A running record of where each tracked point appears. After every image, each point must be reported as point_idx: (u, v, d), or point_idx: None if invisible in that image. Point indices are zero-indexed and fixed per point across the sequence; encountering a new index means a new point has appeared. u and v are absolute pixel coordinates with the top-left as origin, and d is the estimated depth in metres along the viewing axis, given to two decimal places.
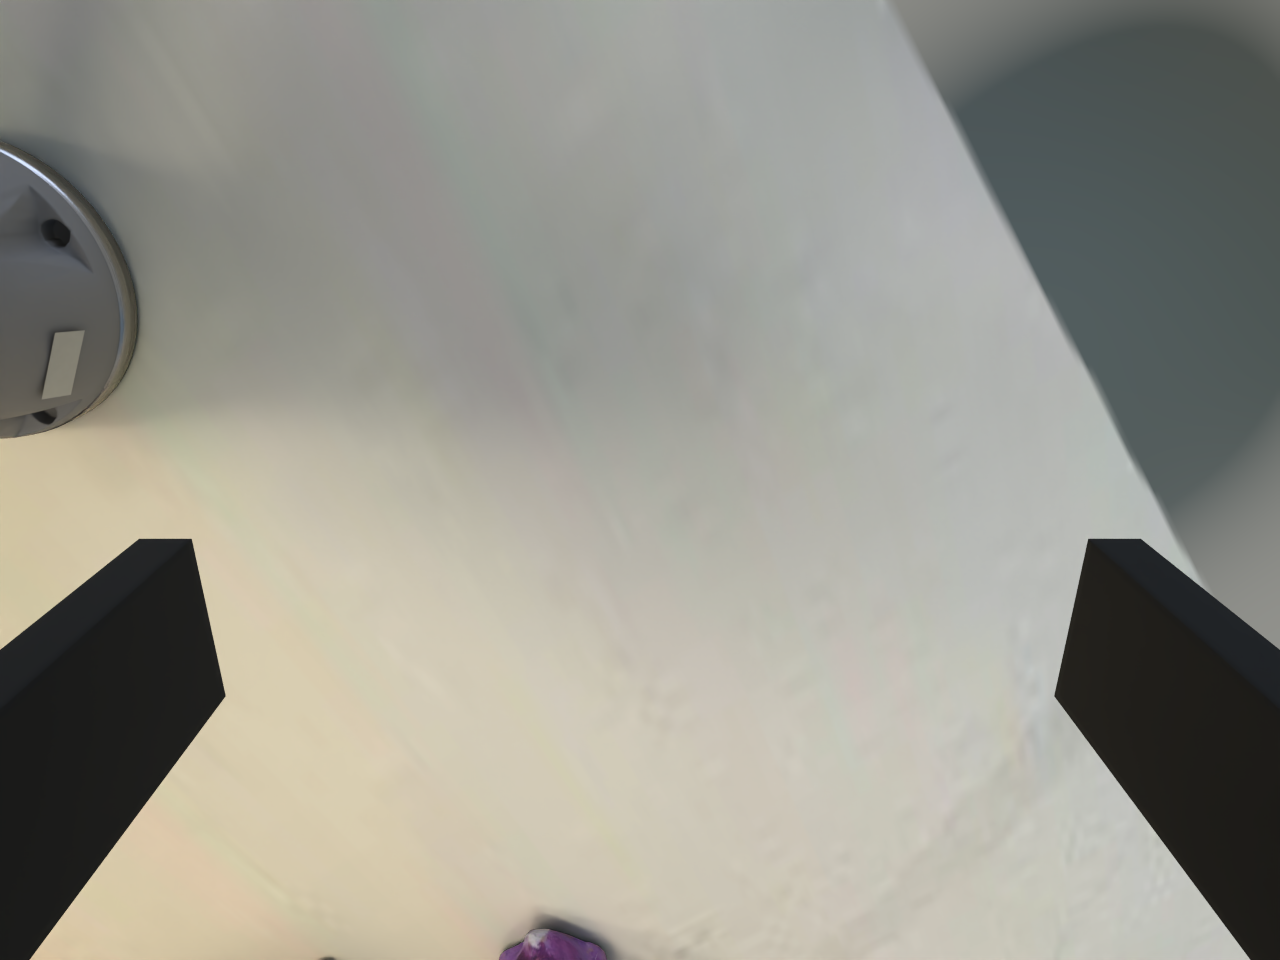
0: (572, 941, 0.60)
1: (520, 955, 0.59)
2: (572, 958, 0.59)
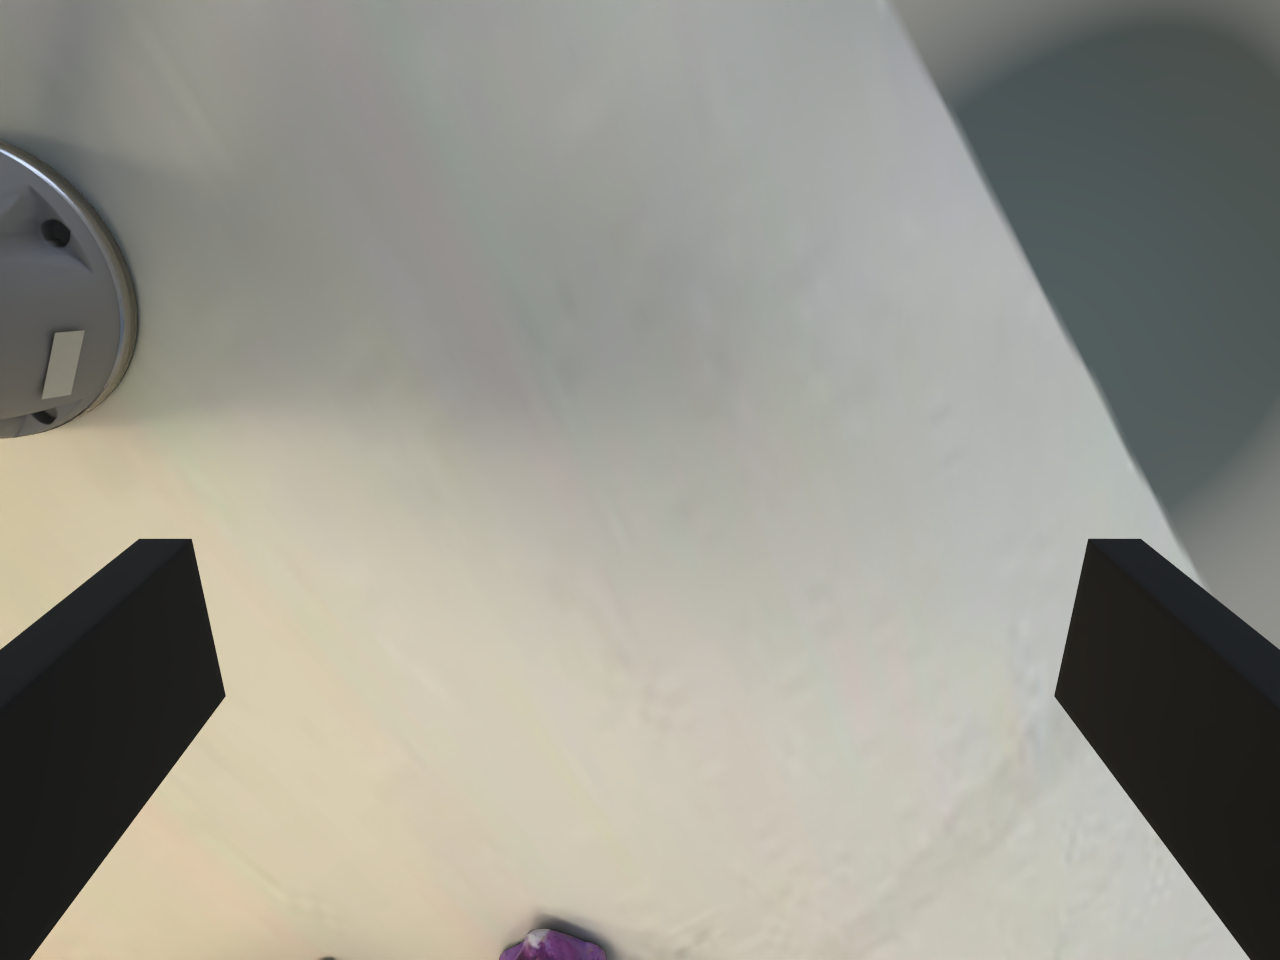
0: (572, 941, 0.60)
1: (520, 955, 0.59)
2: (572, 958, 0.59)
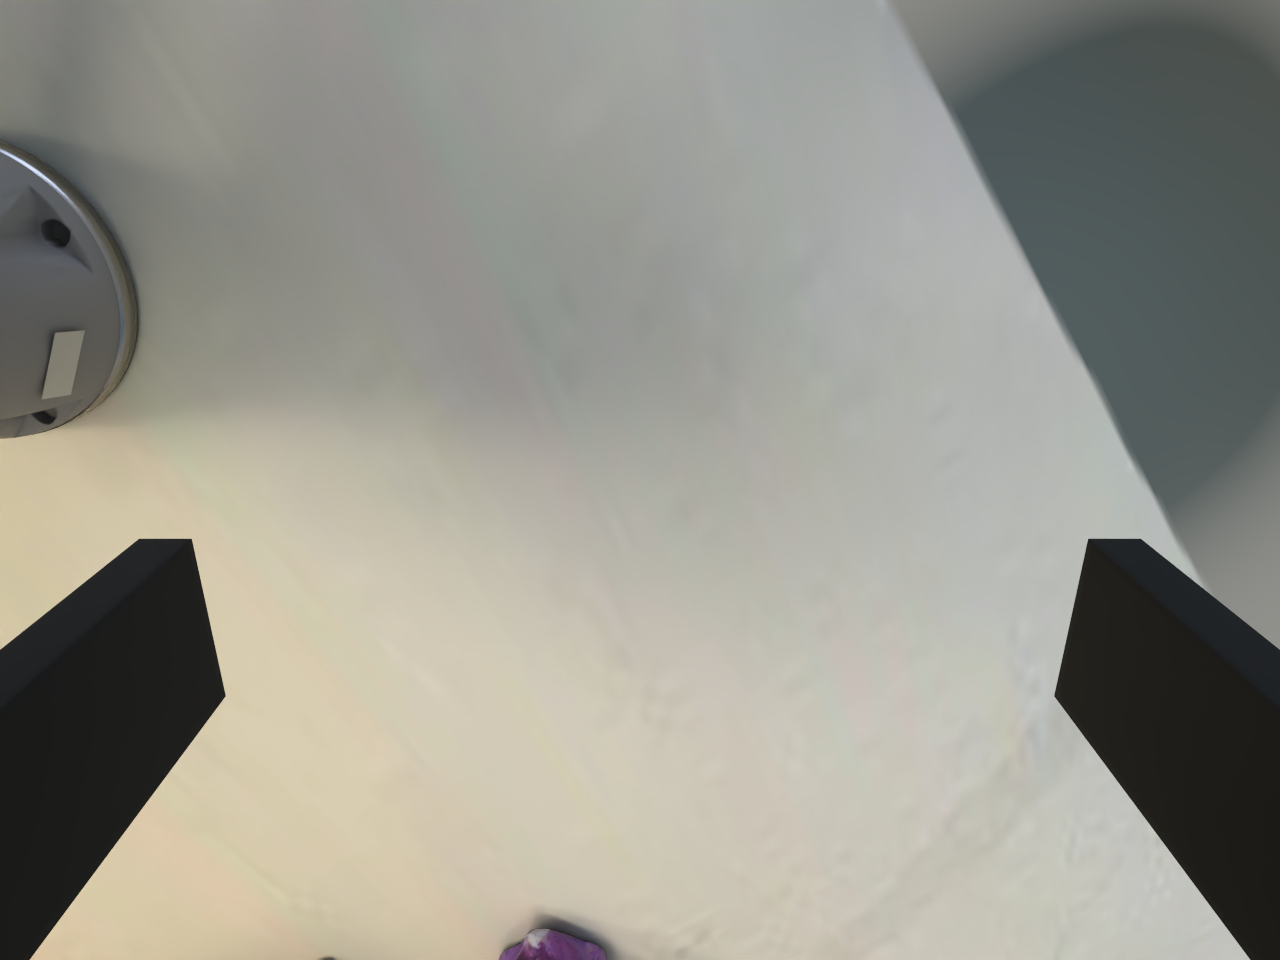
0: (572, 941, 0.60)
1: (520, 955, 0.59)
2: (572, 958, 0.59)
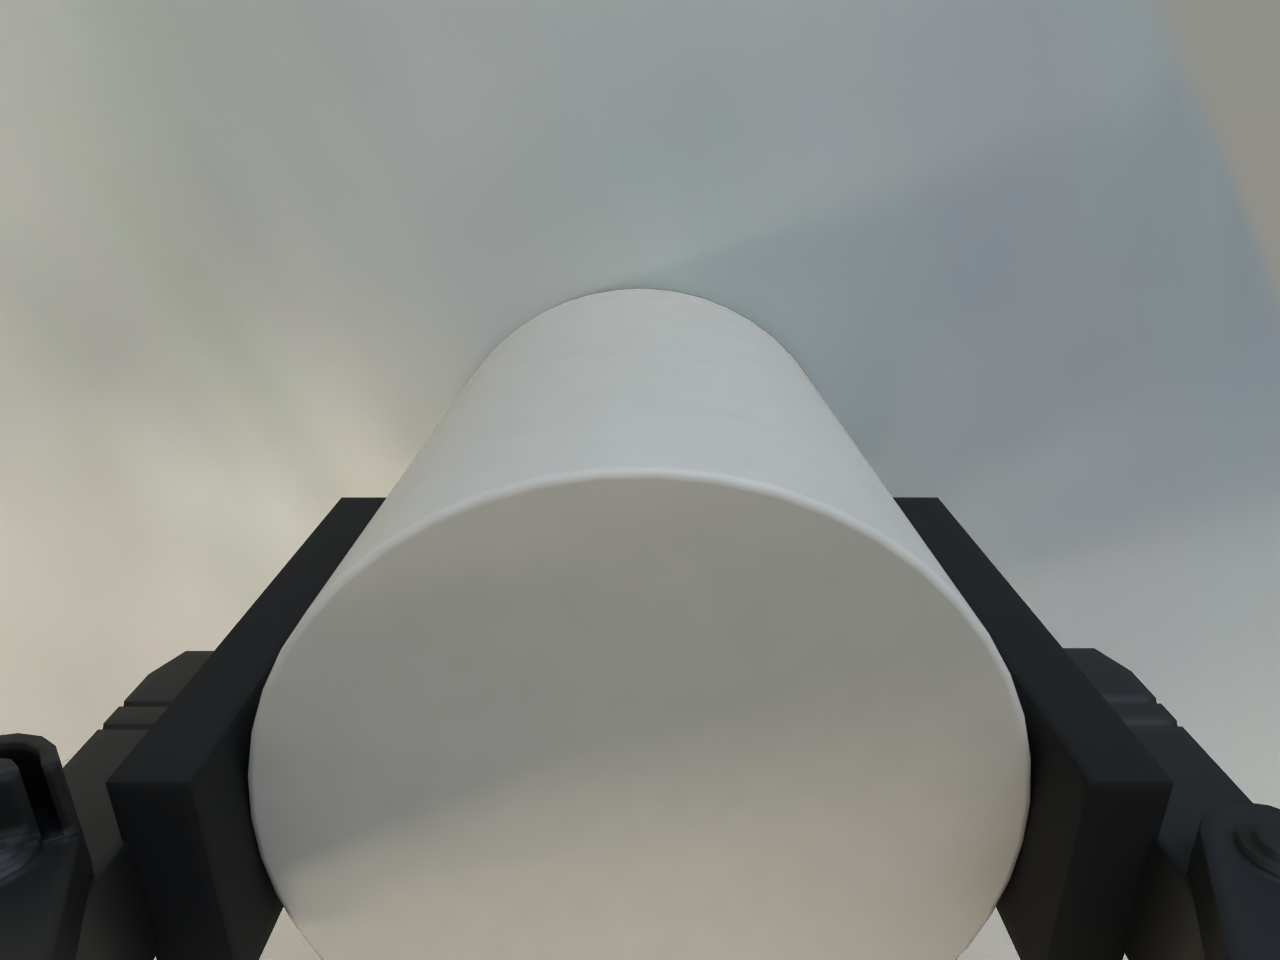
0: None
1: None
2: None
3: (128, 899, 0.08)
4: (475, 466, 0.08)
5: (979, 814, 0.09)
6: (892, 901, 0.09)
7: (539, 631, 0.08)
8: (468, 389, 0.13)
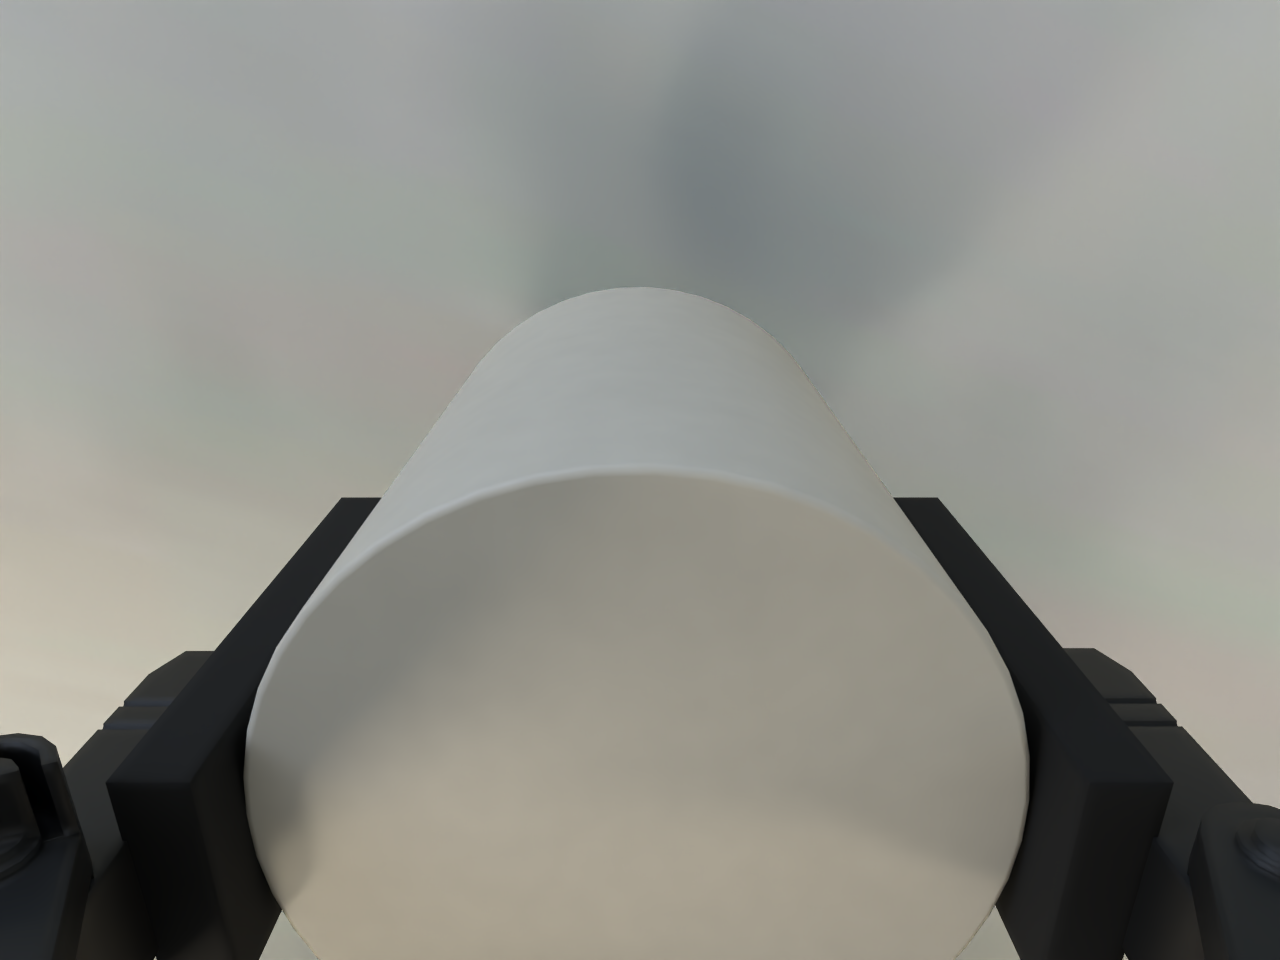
0: None
1: None
2: None
3: (128, 899, 0.08)
4: (470, 463, 0.08)
5: (978, 812, 0.09)
6: (891, 900, 0.09)
7: (534, 629, 0.08)
8: (466, 387, 0.13)
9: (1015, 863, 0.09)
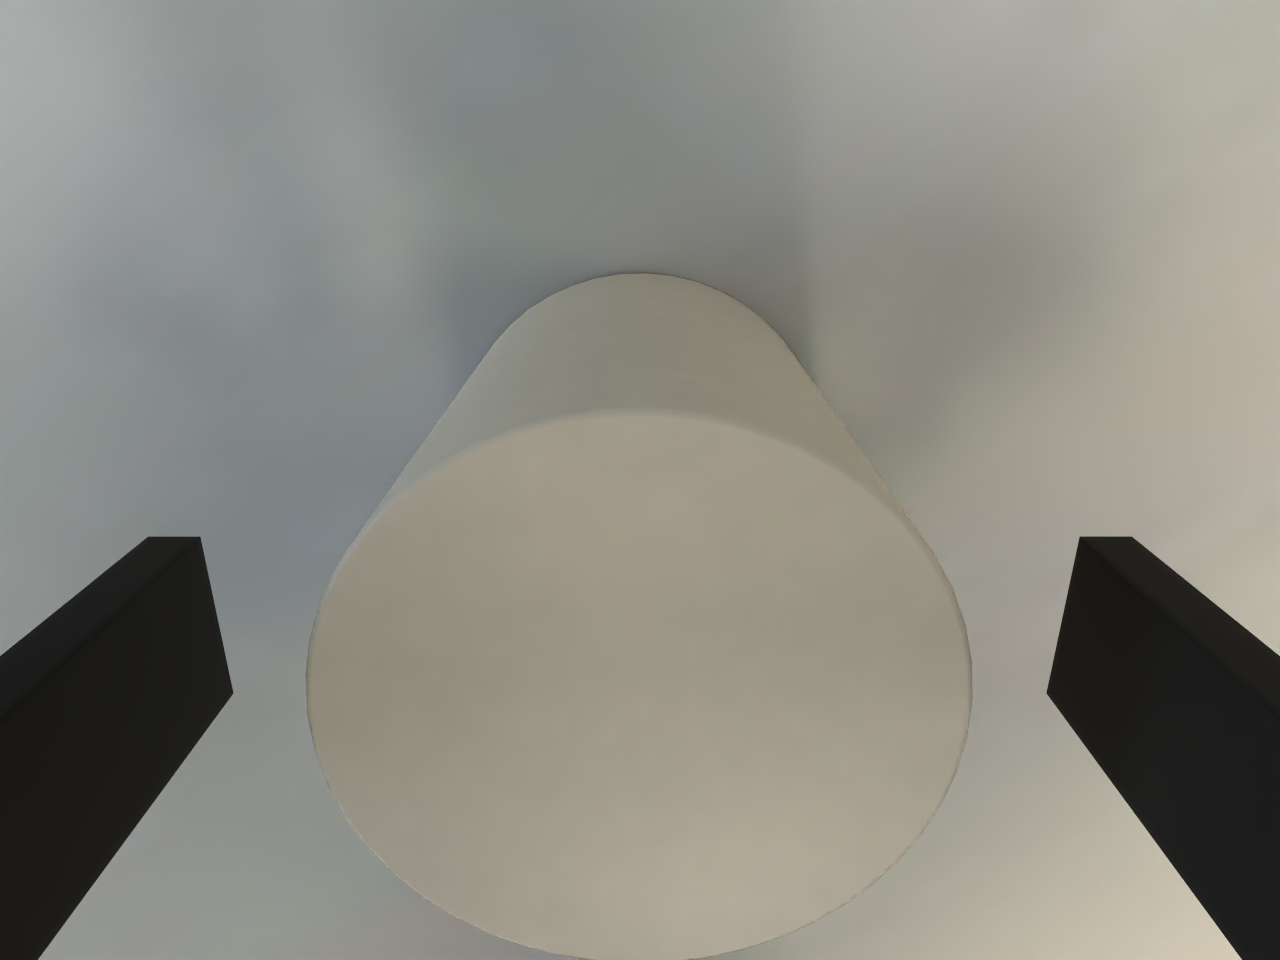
0: None
1: None
2: None
3: None
4: (499, 412, 0.10)
5: (929, 711, 0.10)
6: (856, 790, 0.11)
7: (554, 548, 0.09)
8: (485, 361, 0.15)
9: None
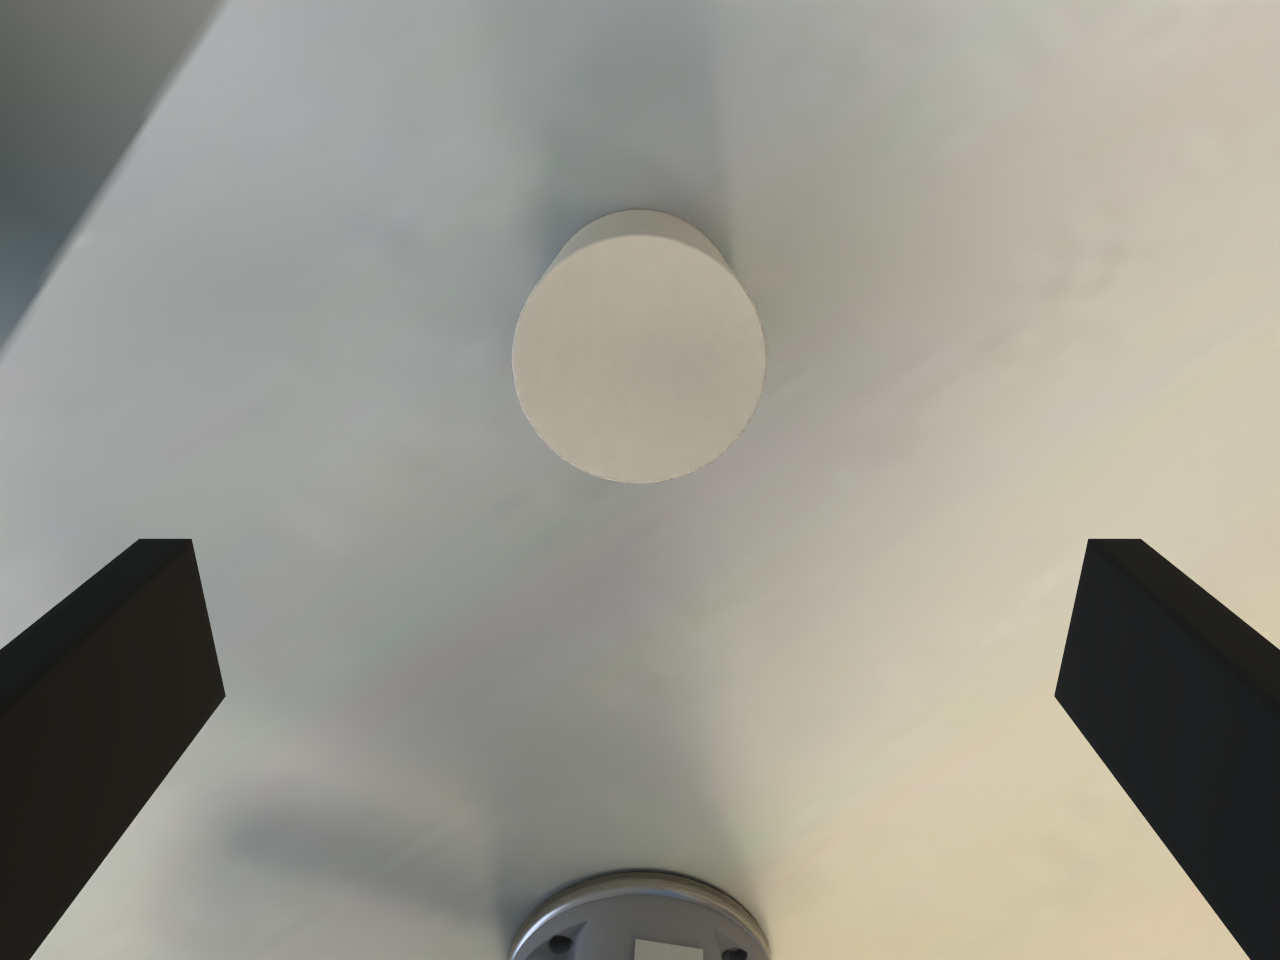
0: None
1: None
2: None
3: None
4: (587, 241, 0.26)
5: (750, 358, 0.27)
6: (724, 395, 0.27)
7: (608, 288, 0.26)
8: (566, 245, 0.31)
9: None
